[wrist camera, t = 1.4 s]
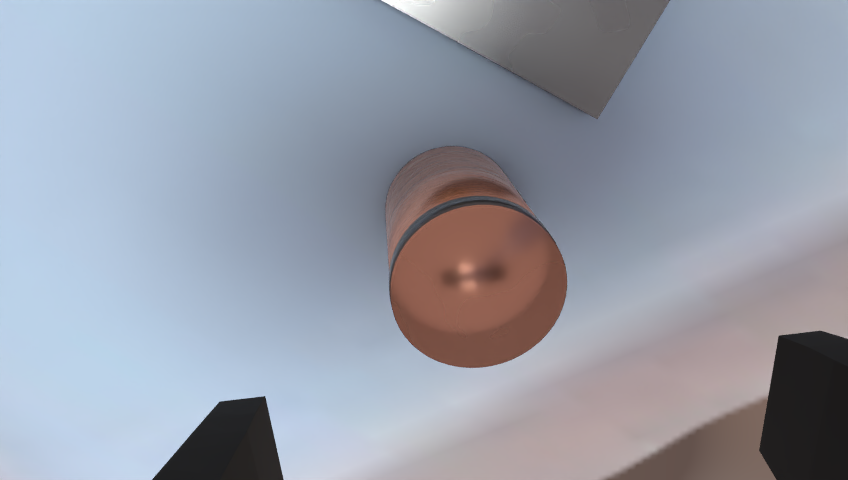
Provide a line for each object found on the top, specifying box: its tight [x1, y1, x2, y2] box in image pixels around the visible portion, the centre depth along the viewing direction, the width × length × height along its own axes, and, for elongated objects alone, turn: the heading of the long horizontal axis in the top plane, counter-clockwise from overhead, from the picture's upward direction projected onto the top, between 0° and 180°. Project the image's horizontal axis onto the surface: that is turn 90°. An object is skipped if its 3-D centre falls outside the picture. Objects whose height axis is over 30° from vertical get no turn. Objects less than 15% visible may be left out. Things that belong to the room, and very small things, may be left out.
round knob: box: [385, 146, 567, 368], centre depth 15 cm, size 4×4×5 cm
